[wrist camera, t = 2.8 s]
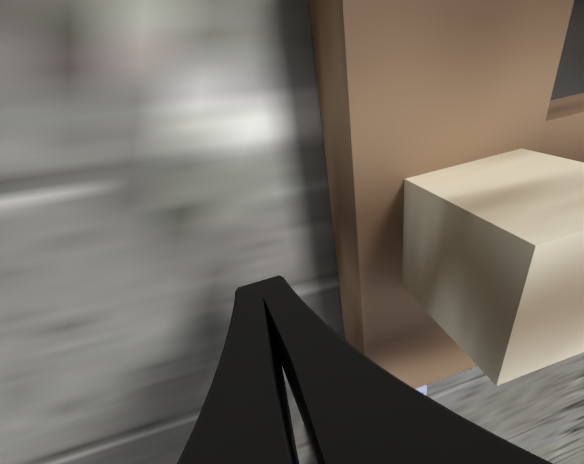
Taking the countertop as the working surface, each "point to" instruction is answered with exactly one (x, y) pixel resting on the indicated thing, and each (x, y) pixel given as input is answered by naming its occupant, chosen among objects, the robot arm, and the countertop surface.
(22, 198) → the countertop surface
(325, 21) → the trap deck
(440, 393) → the countertop surface
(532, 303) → the block
